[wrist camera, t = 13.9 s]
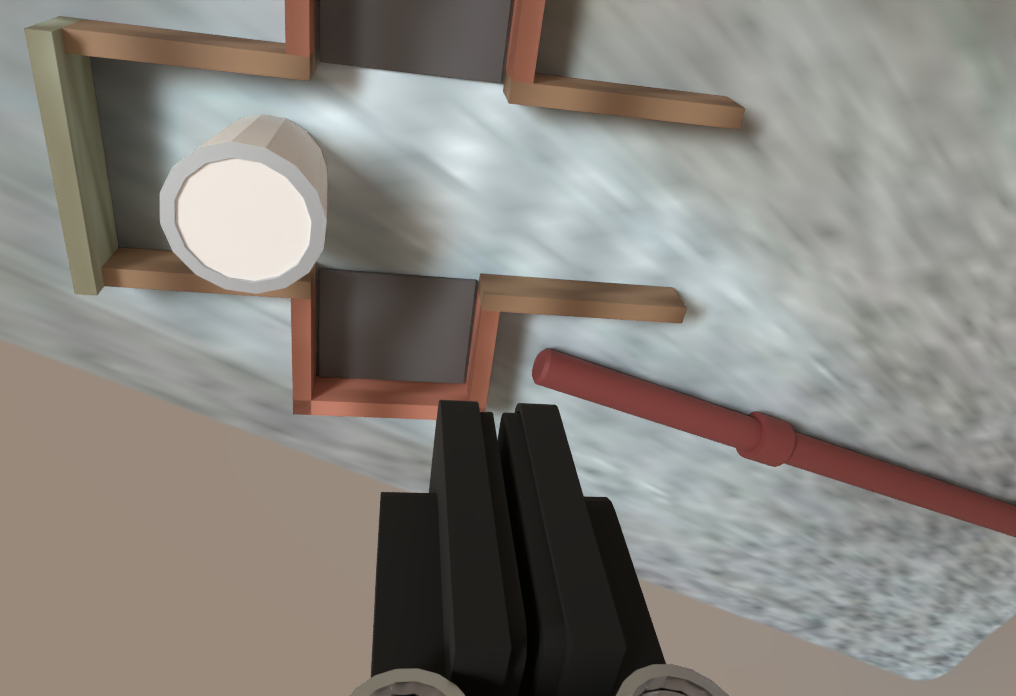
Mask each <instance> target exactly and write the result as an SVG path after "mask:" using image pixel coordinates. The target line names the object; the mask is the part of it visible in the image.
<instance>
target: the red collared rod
mask: <svg viewBox="0 0 1016 696" xmlns="http://www.w3.org/2000/svg"><path fill="white" fill-rule="evenodd" d="M532 377H533V380H534V382H535V384H537V385H541V386H544V387H547V388H550V389H553V390H556V391H559V392H562V393H566V394H569V395H572V396H575V397H578V398H581V399H584V400H588V401H591V402H594V403H597V404H600V405H603V406H606V407H609V408H613V409H616V410H619V411H622V412H625V413H628V414H631V415H634V416H638V417H641V418H644V419H647V420H650V421H653V422H656V423H660V424H663V425H666V426H669V427H672V428H675V429H678V430H681V431H685V432H688V433H691V434H694V435H697V436H700V437H703V438H707V439H710V440H713V441H716V442H719V443H722V444H725V445H728V446H732V447H735V448H736V449H737V452H738V453H739V455H740V456H742V457H744V458H747V459H750V460H753V461H756V462H759V463H763V464H766V465H769V466H773V467H776V466H780V465H782V464H783V463H785V464H788V465H791V466H794V467H797V468H800V469H804V470H807V471H810V472H813V473H816V474H819V475H822V476H826V477H829V478H832V479H835V480H838V481H841V482H844V483H847V484H851V485H854V486H857V487H860V488H863V489H866V490H869V491H873V492H876V493H879V494H882V495H885V496H888V497H891V498H894V499H898V500H901V501H904V502H907V503H910V504H913V505H916V506H919V507H923V508H926V509H929V510H932V511H935V512H938V513H941V514H945V515H948V516H951V517H954V518H957V519H960V520H963V521H966V522H970V523H973V524H976V525H979V526H982V527H985V528H988V529H992V530H995V531H998V532H1001V533H1004V534H1007V535H1010V536H1013V537H1016V506H1013V505H1010V504H1007V503H1004V502H1001V501H998V500H995V499H992V498H989V497H986V496H984V495H981V494H978V493H975V492H972V491H969V490H966V489H963V488H960V487H957V486H954V485H951V484H948V483H945V482H942V481H939V480H936V479H933V478H930V477H927V476H924V475H921V474H918V473H915V472H913V471H910V470H907V469H904V468H901V467H898V466H895V465H892V464H889V463H886V462H883V461H880V460H877V459H874V458H871V457H868V456H865V455H862V454H859V453H856V452H853V451H850V450H847V449H845V448H842V447H839V446H836V445H833V444H830V443H827V442H824V441H821V440H818V439H815V438H812V437H809V436H806V435H803V434H800V433H797V432H794V430H793V428H792V426H791V425H790V424H789V423H788V422H786V421H783V420H780V419H777V418H774V417H771V416H768V415H765V414H762V413H759V412H752V413H751V414H750V415H749V416H747V415H744V414H741V413H738V412H735V411H732V410H729V409H726V408H723V407H720V406H717V405H714V404H711V403H708V402H705V401H703V400H700V399H697V398H694V397H691V396H688V395H685V394H682V393H679V392H676V391H673V390H670V389H667V388H664V387H661V386H658V385H655V384H652V383H649V382H646V381H643V380H640V379H637V378H634V377H632V376H629V375H626V374H623V373H620V372H617V371H614V370H611V369H608V368H605V367H602V366H599V365H596V364H593V363H590V362H587V361H584V360H581V359H578V358H575V357H572V356H569V355H566V354H564V353H561V352H558V351H555V350H552V349H549V348H546V349H544V350H543V351H541V352H540V353H539V354H538V356H537V357H536V359H535V362H534V365H533V369H532Z"/></svg>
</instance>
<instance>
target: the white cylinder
mask: <svg viewBox="0 0 1016 696" xmlns="http://www.w3.org/2000/svg"><path fill="white" fill-rule="evenodd" d="M327 172H328V170H327V167H326V164H325V160H324V157H323V154H322V151H321V149H320V147H319V146H318V145H317V144H316V142H315V141H314V140H313V138H312V137H311V136H310V135H309V133H308V132H307V131H306V130H304V129H303V128H301V127H299V126H298V125H296V124H294V123H293V122H291V121H290V120H288V119H286V118H282V117H277V116H272V115H267V114H259V115H253V116H248V117H243V118H240V119H238V120H237V121H235V122H234V123H233V124H231V125H230V126H228V127H227V128H226V129H224V130H223V131H221V132H220V133H218V134H217V135H216V136H214V137H213V138H211V139H210V140H208V141H207V142H206V143H204V144H203V145H201V146H200V147H199V148H197V149H196V150H194V151H193V152H192V153H190V154H189V155H188V156H186V157H185V158H183V159H182V160H181V161H179V162H178V163H177V164H175V165H174V166H173V167H172V169H171V171H170V173H169V175H168V177H167V179H166V181H165V183H164V185H163V187H162V189H161V191H160V224H161V227H162V229H163V231H164V233H165V235H166V238H167V240H168V242H169V244H170V246H171V249H172V251H173V252H174V253H175V254H176V255H177V256H178V257H179V258H180V259H181V260H182V261H183V262H184V263H185V264H186V265H187V266H188V267H189V268H190V269H191V270H192V271H193V272H194V273H195V274H196V275H197V276H199V277H201V278H203V279H205V280H207V281H209V282H211V283H213V284H215V285H217V286H220V287H222V288H224V289H226V290H233V291H240V292H247V293H254V294H258V293H263V292H268V291H273V290H278V289H283V288H286V287H288V286H289V285H291V284H292V283H294V282H295V281H297V280H298V279H300V278H302V277H303V276H305V275H306V274H308V273H309V272H310V270H311V269H312V267H313V265H314V264H315V262H316V261H317V259H318V257H319V256H320V254H321V253H322V251H323V249H324V241H325V232H326V223H327Z"/></svg>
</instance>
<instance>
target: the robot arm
mask: <svg viewBox="0 0 1016 696" xmlns="http://www.w3.org/2000/svg"><path fill="white" fill-rule="evenodd" d="M377 551H378V552H377V567H376V586H375V605H374V606H375V607H374V625H373V646H372V664H371V678H370V679H369V680H367V681H366V682H365V683H363V684H361V685H360V686H359V687H357V688H356V689H355V690H354V691H353V692H352V694H351V695H350V696H729V695H728V694H727V693H725V692H724V691H723V690H722V689H721V688H720V687H719V686H718V685H716V684H715V683H714V682H713V681H712V680H710V679H709V678H707V677H705V676H703V675H701V674H699V673H697V672H695V671H694V670H692V669H688V668H684V667H681V666H677V665H673V664H666V663H665V660H664V657H663V654H662V651H661V647H660V644H659V642H658V638H657V635H656V632H655V629H654V627H653V623H652V621H651V617H650V614H649V611H648V608H647V605H646V602H645V599H644V596H643V593H642V590H641V587H640V584H639V581H638V578H637V575H636V572H635V569H634V566H633V563H632V560H631V557H630V554H629V551H628V548H627V545H626V542H625V539H624V536H623V533H622V530H621V527H620V524H619V521H618V518H617V515H616V512H615V509H614V507H613V505H612V502H611V501H610V500H609V499H608V498H607V497H584V496H583V493H582V489H581V486H580V482H579V479H578V475H577V472H576V468H575V465H574V461H573V458H572V454H571V451H570V448H569V444H568V441H567V437H566V434H565V430H564V427H563V423H562V420H561V416H560V413H559V410H558V407H557V406H556V405H549V404H527V403H518V404H517V406H516V409H515V413H503V414H502V417H501V422H500V428H499V434H498V440H497V435H496V429H495V423H494V417H493V413H492V412H480V408H479V403H478V402H477V401H458V400H439V404H438V411H437V420H436V430H435V439H434V449H433V458H432V468H431V477H430V487H429V493H400V492H398V493H397V492H381V500H380V515H379V532H378V550H377Z"/></svg>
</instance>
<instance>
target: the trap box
mask: <svg viewBox="0 0 1016 696" xmlns="http://www.w3.org/2000/svg"><path fill="white" fill-rule="evenodd" d="M510 4H511V0H320V62H325V63H333V64H342V65H350V66H359V67H367V68H376V69H384V70H393V71H401V72H410V73H418V74H427V75H435V76H444V77H452V78H461V79H470V80H478V81H487V82H495V83H501V76H502V68H503V60H504V52H505V44H506V36H507V28H508V20H509V12H510ZM544 6H545V0H515V2H514V10H513V17H512V25H511V33H510V41H509V49H508V57H507V65H506V73H505V81H504V88H503V92H504V94H505V96H506V98H507V100H508V102H509V103H510V104H519V105H528V106H537V107H546V108H555V109H563V110H572V111H581V112H590V113H599V114H608V115H617V116H625V117H634V118H643V119H652V120H661V121H670V122H679V123H688V124H696V125H705V126H714V127H723V128H732V129H740V126H741V122H742V119H743V115H744V112H745V108H744V107H742V106H741V105H739V104H737V103H736V102H734V101H733V100H731V99H730V98H728V97H726V96H718V95H709V94H701V93H693V92H685V91H676V90H668V89H660V88H651V87H643V86H635V85H626V84H618V83H610V82H602V81H593V80H585V79H577V78H568V77H560V76H552V75H543V74H535V68H536V61H537V54H538V47H539V41H540V34H541V27H542V20H543V13H544ZM24 30H25V35H26V40H27V46H28V51H29V56H30V61H31V66H32V72H33V77H34V82H35V87H36V93H37V98H38V103H39V108H40V114H41V119H42V124H43V129H44V135H45V140H46V145H47V150H48V156H49V161H50V166H51V171H52V177H53V182H54V187H55V192H56V198H57V203H58V208H59V213H60V219H61V224H62V229H63V234H64V239H65V245H66V250H67V255H68V260H69V266H70V271H71V276H72V281H73V287H74V292H75V294H83V295H98V294H99V292H100V291H101V290H102V288H103V287H104V286H111V287H127V288H142V289H158V290H173V291H189V292H204V293H219V294H235V295H250V296H266V297H281V298H291V328H292V377H293V414H303V415H329V416H354V417H380V418H405V419H431V420H437V411H438V404H439V400H458V401H477V402H478V403H479V408H480V412H485V410H486V403H487V396H488V389H489V382H490V375H491V369H492V362H493V355H494V348H495V341H496V334H497V328H498V321H499V314H500V312H513V313H529V314H544V315H560V316H575V317H591V318H606V319H621V320H637V321H652V322H668V323H682V322H683V319H684V315H685V312H686V309H687V308H686V306H685V305H684V303H683V302H682V300H681V299H680V297H679V296H678V294H677V293H676V291H675V290H674V288H670V287H657V286H643V285H629V284H616V283H602V282H588V281H575V280H561V279H547V278H533V277H520V276H506V275H492V274H480V278H479V286H478V294H477V302H476V309H475V317H474V325H473V333H472V341H471V349H470V357H469V365H468V373H467V380H466V383H463V382H464V374H465V366H466V358H467V350H468V342H469V334H470V326H471V318H472V309H473V301H474V293H475V285H476V280H473V279H459V278H445V277H431V276H417V275H403V274H389V273H375V272H361V271H347V270H333V269H319V376H316V262H315V264H314V265H313V267H312V269H311V270H310V272H309V273H308V274H306V275H305V276H303V277H302V278H300V279H298V280H297V281H295V282H294V283H292V284H291V285H289V286H288V287H286V288H283V289H278V290H273V291H268V292H263V293H258V294H254V293H247V292H240V291H233V290H226V289H224V288H222V287H220V286H217V285H215V284H213V283H211V282H209V281H207V280H205V279H203V278H201V277H199V276H197V275H196V274H195V273H194V272H193V271H192V270H191V269H190V268H189V267H188V266H187V265H186V264H185V263H184V262H183V261H182V260H181V259H180V258H179V257H178V256H177V255H176V254H175V253H174V252H173V251H164V250H150V249H137V248H123V247H118V240H117V234H116V227H115V220H114V214H113V207H112V200H111V194H110V187H109V181H108V174H107V167H106V161H105V154H104V147H103V141H102V134H101V127H100V121H99V114H98V108H97V101H96V94H95V88H94V81H93V74H92V68H91V61H90V56H94V57H103V58H111V59H120V60H129V61H138V62H147V63H156V64H165V65H174V66H182V67H191V68H200V69H209V70H218V71H227V72H236V73H244V74H253V75H262V76H271V77H280V78H289V79H298V80H306V81H310V79H311V77H312V76H313V74H314V72H315V70H316V0H285V35H286V43H278V42H269V41H261V40H253V39H245V38H236V37H228V36H220V35H211V34H203V33H195V32H186V31H178V30H170V29H161V28H153V27H145V26H137V25H128V24H120V23H112V22H103V21H95V20H87V19H78V18H70V17H62V16H59V17H56V18H53V19H50V20H47V21H45V22H42V23H39V24H36V25H33V26H30V27H27V28H24Z"/></svg>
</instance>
